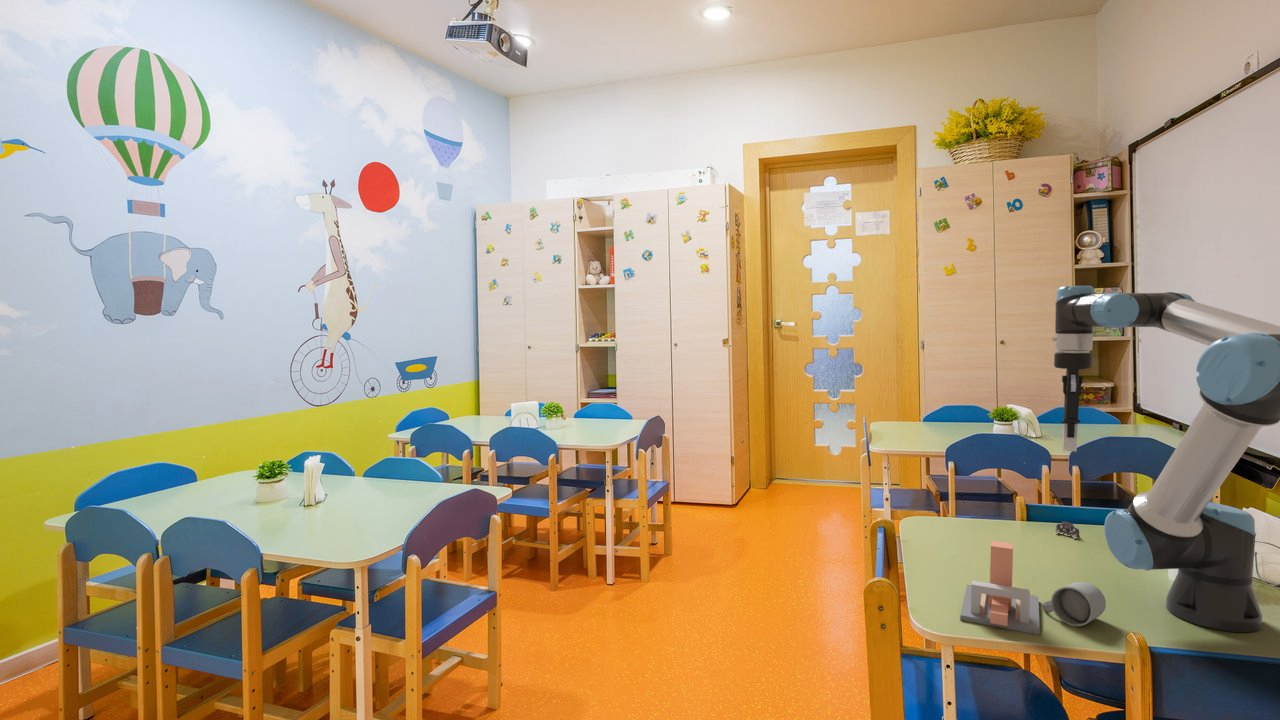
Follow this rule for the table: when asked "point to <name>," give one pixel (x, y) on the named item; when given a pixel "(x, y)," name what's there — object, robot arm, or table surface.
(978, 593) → the mount
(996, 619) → the clip bar
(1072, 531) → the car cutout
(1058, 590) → the ceramic mug
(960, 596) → the table surface
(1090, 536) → the table surface
